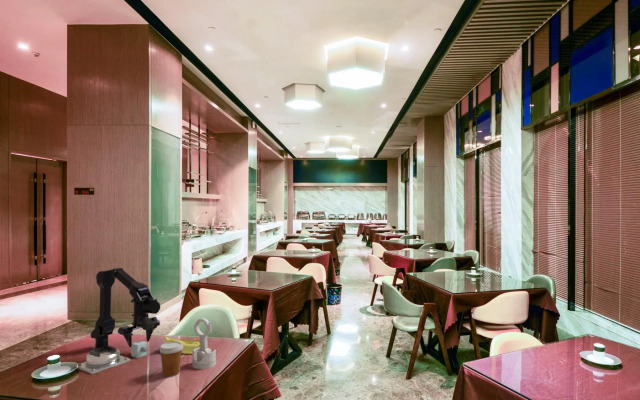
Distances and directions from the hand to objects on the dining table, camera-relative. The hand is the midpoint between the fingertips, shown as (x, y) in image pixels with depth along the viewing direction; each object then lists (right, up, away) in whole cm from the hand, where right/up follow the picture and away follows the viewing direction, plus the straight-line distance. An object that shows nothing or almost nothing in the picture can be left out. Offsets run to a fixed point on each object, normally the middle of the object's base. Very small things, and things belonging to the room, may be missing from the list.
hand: (139, 344), depth 178 cm
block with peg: (0, -5, 0) cm, 5 cm away
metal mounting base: (-11, -5, -11) cm, 16 cm away
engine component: (+35, -5, -12) cm, 37 cm away
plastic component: (+20, -6, +7) cm, 22 cm away
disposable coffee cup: (+24, -4, -22) cm, 33 cm away
